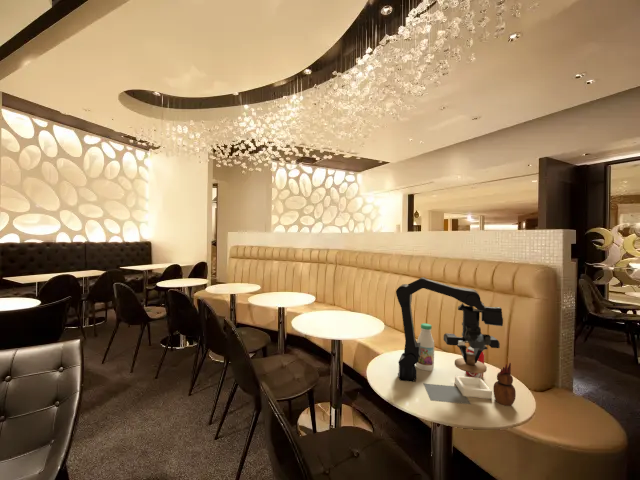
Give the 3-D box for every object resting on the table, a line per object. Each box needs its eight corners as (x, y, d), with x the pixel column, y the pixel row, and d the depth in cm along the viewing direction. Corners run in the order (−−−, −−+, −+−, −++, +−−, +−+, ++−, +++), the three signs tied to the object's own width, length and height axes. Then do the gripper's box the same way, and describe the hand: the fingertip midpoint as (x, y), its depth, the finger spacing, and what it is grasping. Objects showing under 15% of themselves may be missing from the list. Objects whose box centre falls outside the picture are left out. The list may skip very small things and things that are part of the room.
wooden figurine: (511, 400, 108) (512, 360, 108) (517, 409, 103) (519, 367, 102) (490, 397, 110) (492, 358, 110) (496, 406, 104) (497, 365, 104)
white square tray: (463, 397, 109) (463, 388, 109) (454, 384, 119) (454, 375, 119) (491, 400, 108) (492, 391, 108) (480, 386, 118) (480, 377, 118)
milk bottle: (418, 362, 139) (420, 320, 138) (435, 367, 134) (437, 324, 134) (413, 368, 132) (415, 324, 132) (431, 373, 128) (432, 328, 127)
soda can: (486, 381, 122) (487, 352, 122) (467, 378, 124) (469, 351, 124) (480, 373, 129) (481, 346, 129) (463, 371, 131) (464, 344, 130)
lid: (459, 372, 108) (459, 358, 108) (451, 359, 119) (451, 347, 119) (491, 374, 106) (491, 360, 106) (479, 361, 117) (480, 349, 117)
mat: (430, 401, 106) (430, 400, 106) (423, 384, 118) (423, 383, 118) (471, 405, 104) (471, 404, 104) (459, 388, 116) (459, 386, 116)
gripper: (451, 327, 106) (450, 370, 106) (507, 330, 103) (506, 374, 103) (443, 318, 117) (442, 357, 117) (493, 321, 114) (492, 360, 114)
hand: (470, 362), depth 112 cm, fingers closed on lid, 3 cm apart
